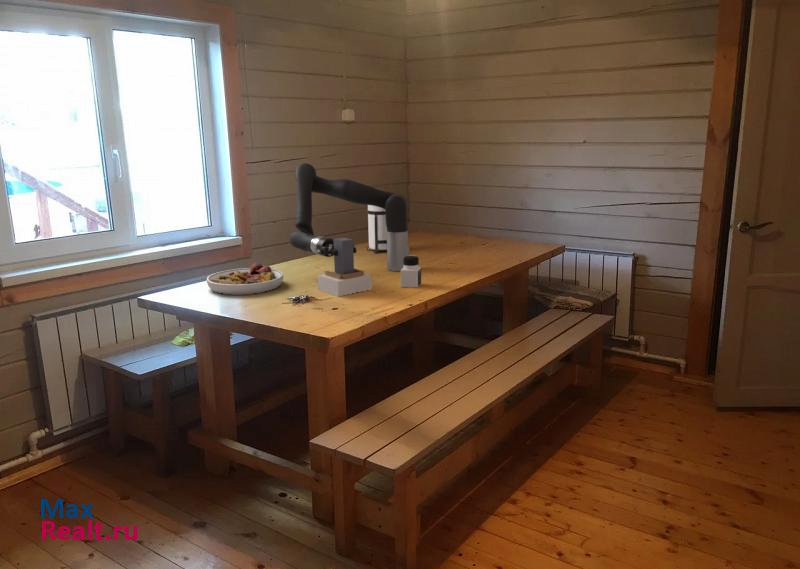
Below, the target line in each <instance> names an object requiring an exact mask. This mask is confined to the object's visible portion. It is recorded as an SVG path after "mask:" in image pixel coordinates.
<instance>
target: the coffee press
mask: <svg viewBox="0 0 800 569" xmlns="http://www.w3.org/2000/svg"><path fill="white" fill-rule="evenodd" d="M367 228H368V232H367V233H368V245H367V247H366V250H367V251H368V250H369V251H370V250H374V254H379V251H387V227H386V217H385V209H383V208H381V207H378V206H373V205H367Z"/></svg>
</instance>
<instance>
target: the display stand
mask: <svg viewBox="0 0 800 569" xmlns="http://www.w3.org/2000/svg"><path fill="white" fill-rule="evenodd" d="M372 276H373V275H372V274H370V273H365V271H364V270H361V269H358V268H355V267H354V273H350V274H345V275H341V274H337V273H335V271H334V272H333V271H330V270H325V271H324V273H323V274H317V291H320V292H323V293H327V294H328V295H329V294H330V295H332V296H334V295H335V297H337V296H338V297H339V296H340V297H344V296H343V295H345V296H348V295H347V294H349V295H353V294H352V293H354V294H357V293H356V292H359V293H362V292H361V291H364V292H367V291H366V290H369V291H371V290H370V289H372V290H373V279H372ZM338 297H337V298H338Z"/></svg>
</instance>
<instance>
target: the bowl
mask: <svg viewBox="0 0 800 569" xmlns="http://www.w3.org/2000/svg"><path fill="white" fill-rule="evenodd" d="M283 280H284V273H283V272H282V271H281V270H278V269H273V268H271V267H270V266H269V265H265V266H264V265H262V263H260V262H255V263H253V264H252V265H251V266H250V267H245V268H244V267H243V268H233V269H227V270H223V271H218V272H215V273H212V274H209V276H207V278H206V283H207V286H208V287H209V289H210V290H212V291H213V292H215V293H217V292H218V293H217V294H220V293H223V294H222V295H226V294H232V295H231V296H245V295H244V294H249V295H255V294H254V293H258V294H262V293H261V292H263V293H266V292H265V291H267V292H270V291H273V290H275V289H277V288H279V286H280V285H282V283H283ZM272 289H273V290H272ZM269 290H270V291H269Z"/></svg>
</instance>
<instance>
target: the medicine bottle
mask: <svg viewBox="0 0 800 569" xmlns="http://www.w3.org/2000/svg"><path fill="white" fill-rule="evenodd" d="M419 259H420V258H419V256H416V255H411V254H410V256H405V257H404V258H403V260H404V267H403V268H402V269H401V271H400V287H401V288H412V287H418V288H419V287H420V286H421V285H420V284H422V266H419V264H420V262H419Z"/></svg>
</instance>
